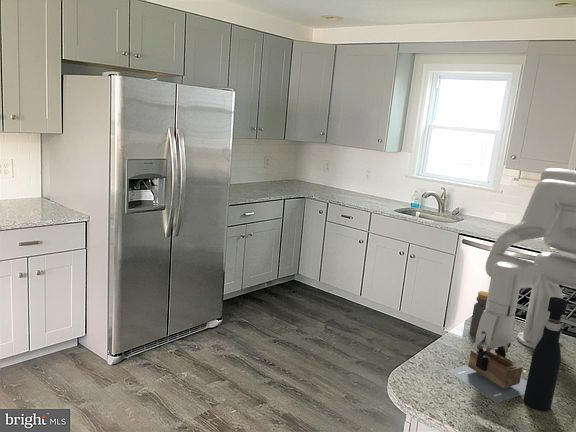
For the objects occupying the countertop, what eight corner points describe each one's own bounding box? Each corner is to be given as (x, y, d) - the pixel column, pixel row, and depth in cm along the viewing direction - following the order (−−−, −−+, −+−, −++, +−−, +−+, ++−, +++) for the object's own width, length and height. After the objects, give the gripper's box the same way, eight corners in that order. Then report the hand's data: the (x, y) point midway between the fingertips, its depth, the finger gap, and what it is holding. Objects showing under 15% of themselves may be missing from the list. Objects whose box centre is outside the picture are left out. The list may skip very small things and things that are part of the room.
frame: (483, 362, 145) (486, 346, 144) (519, 383, 135) (523, 366, 134) (468, 366, 142) (471, 349, 141) (503, 388, 132) (507, 370, 131)
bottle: (482, 340, 167) (489, 298, 164) (466, 333, 171) (473, 292, 168) (490, 335, 171) (498, 294, 167) (474, 329, 175) (481, 289, 172)
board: (488, 363, 151) (490, 352, 150) (539, 392, 136) (541, 380, 136) (446, 374, 142) (447, 362, 141) (495, 407, 128) (498, 394, 127)
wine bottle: (553, 417, 125) (577, 306, 119) (526, 412, 126) (548, 302, 120) (545, 403, 131) (568, 297, 125) (519, 399, 132) (541, 293, 126)
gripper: (509, 298, 143) (498, 355, 147) (468, 305, 135) (457, 365, 138) (533, 308, 137) (521, 367, 140) (491, 316, 128) (479, 379, 132)
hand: (489, 366), depth 139 cm, fingers closed on frame, 6 cm apart
